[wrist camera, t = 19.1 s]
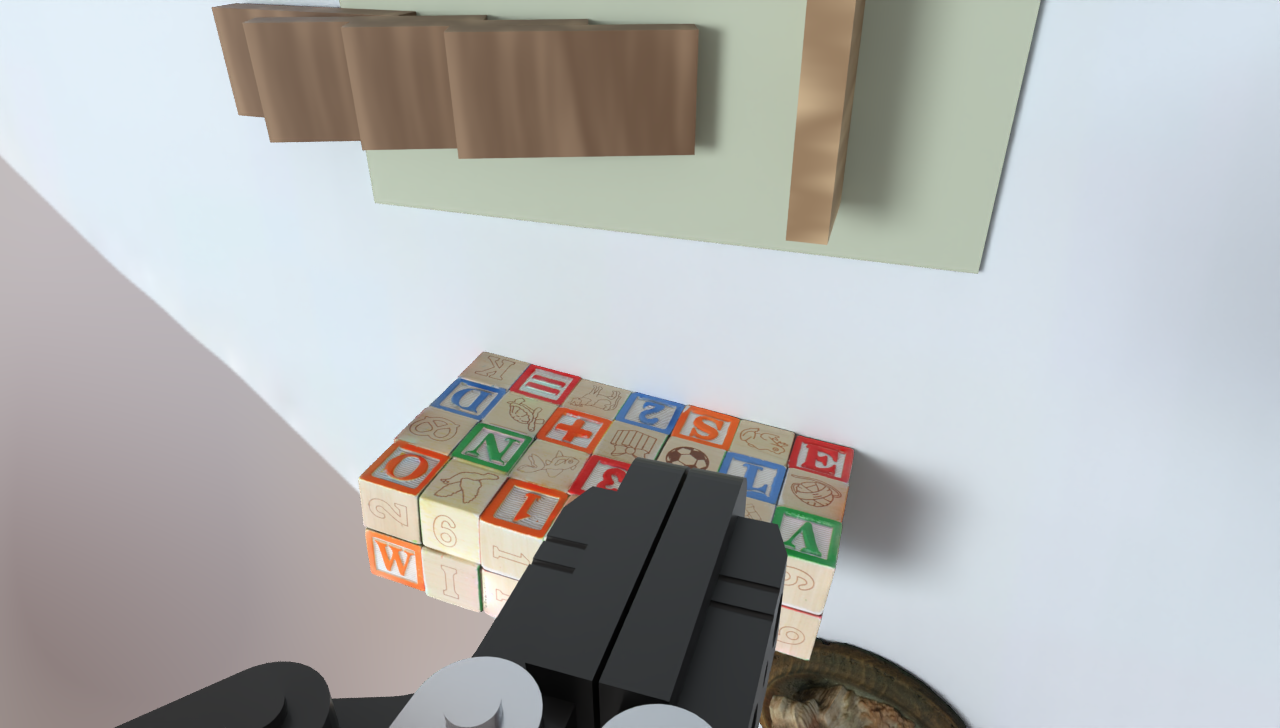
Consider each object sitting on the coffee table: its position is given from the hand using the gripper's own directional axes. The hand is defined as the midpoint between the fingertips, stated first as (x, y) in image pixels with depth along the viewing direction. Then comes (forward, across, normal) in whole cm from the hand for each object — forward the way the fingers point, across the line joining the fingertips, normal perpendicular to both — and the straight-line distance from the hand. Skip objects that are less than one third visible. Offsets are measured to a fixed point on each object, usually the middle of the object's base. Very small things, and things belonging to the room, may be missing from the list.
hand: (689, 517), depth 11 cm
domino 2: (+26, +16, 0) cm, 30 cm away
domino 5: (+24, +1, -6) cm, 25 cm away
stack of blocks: (+27, +9, +19) cm, 35 cm away
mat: (+27, +9, -1) cm, 28 cm away
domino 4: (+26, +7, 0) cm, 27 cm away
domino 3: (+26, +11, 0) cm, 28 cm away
